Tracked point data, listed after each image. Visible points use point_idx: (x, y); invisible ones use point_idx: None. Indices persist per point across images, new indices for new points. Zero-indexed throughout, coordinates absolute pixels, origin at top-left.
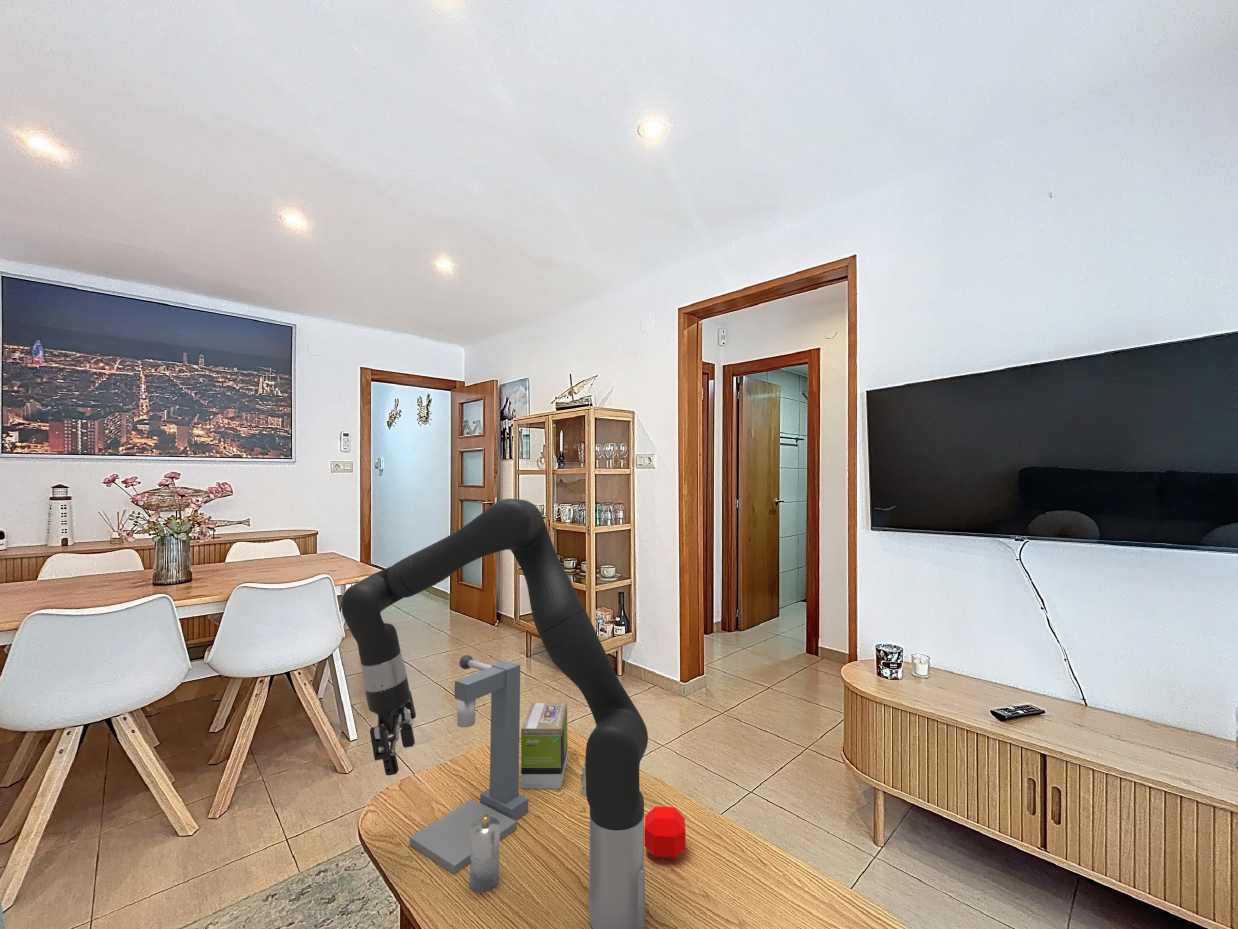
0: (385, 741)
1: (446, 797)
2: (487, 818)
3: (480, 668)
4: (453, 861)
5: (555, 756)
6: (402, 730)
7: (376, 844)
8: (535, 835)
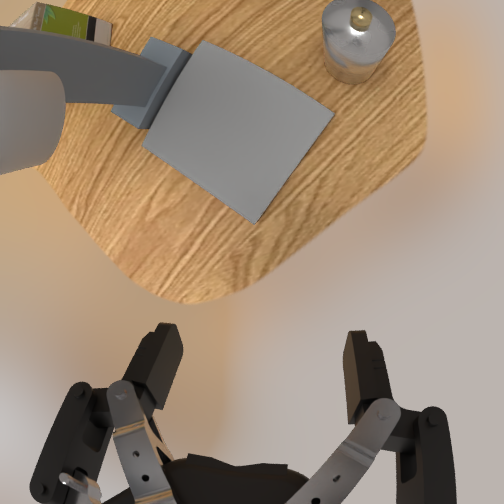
0: (452, 486)
1: (133, 200)
2: (366, 10)
3: None
4: (322, 118)
5: (74, 18)
6: (159, 404)
7: (257, 276)
8: (225, 10)
